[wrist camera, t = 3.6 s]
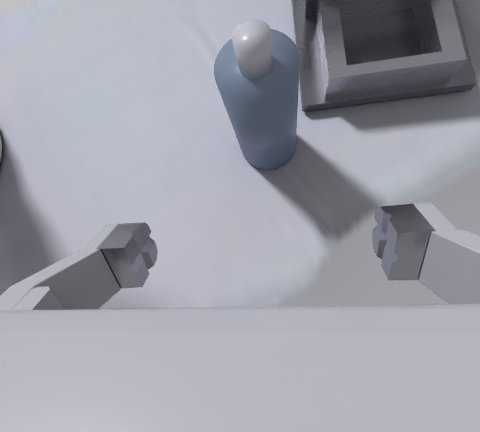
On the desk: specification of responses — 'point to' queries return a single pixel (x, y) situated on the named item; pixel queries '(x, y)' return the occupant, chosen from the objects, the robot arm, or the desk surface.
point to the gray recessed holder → (378, 50)
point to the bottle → (260, 92)
